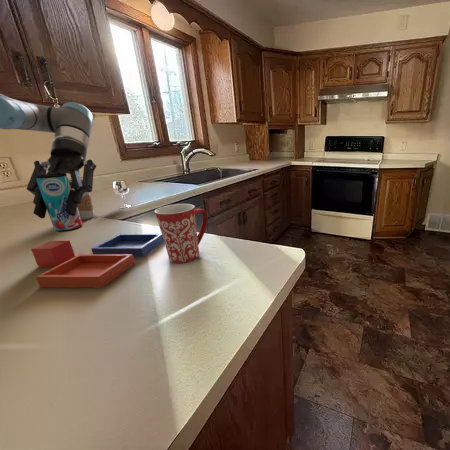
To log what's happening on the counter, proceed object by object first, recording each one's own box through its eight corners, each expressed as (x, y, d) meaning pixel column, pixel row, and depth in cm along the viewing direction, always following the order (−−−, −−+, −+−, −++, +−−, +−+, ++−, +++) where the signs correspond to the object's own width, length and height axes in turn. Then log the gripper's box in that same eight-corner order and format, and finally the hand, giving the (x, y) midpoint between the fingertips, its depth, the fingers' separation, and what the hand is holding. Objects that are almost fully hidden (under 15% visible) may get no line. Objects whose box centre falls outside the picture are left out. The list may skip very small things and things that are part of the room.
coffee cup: (86, 220, 95) (73, 182, 90) (65, 221, 96) (51, 182, 91) (102, 214, 103) (92, 179, 98) (83, 214, 103) (72, 179, 98)
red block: (38, 267, 61) (30, 248, 59) (57, 257, 65) (51, 240, 64) (57, 267, 61) (50, 248, 59) (75, 257, 65) (69, 240, 64)
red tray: (40, 287, 52) (35, 276, 51) (82, 263, 62) (79, 254, 61) (102, 287, 52) (98, 276, 51) (135, 263, 62) (132, 254, 61)
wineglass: (131, 204, 119) (125, 179, 115) (134, 206, 115) (128, 181, 111) (117, 206, 115) (110, 181, 111) (119, 209, 111) (112, 182, 107)
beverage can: (53, 234, 64) (32, 177, 60) (56, 228, 69) (37, 174, 64) (82, 229, 68) (64, 175, 63) (84, 224, 72) (68, 173, 67)
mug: (176, 269, 59) (165, 215, 54) (159, 259, 64) (147, 209, 59) (220, 250, 68) (214, 203, 63) (202, 243, 73) (195, 199, 69)
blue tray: (93, 257, 65) (90, 248, 64) (121, 241, 75) (119, 233, 74) (143, 257, 65) (141, 248, 64) (165, 241, 75) (163, 233, 74)
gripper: (113, 154, 79) (105, 217, 69) (40, 156, 73) (20, 224, 64) (101, 137, 72) (90, 204, 63) (20, 137, 67) (-6, 210, 57)
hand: (55, 214), depth 63 cm, fingers closed on beverage can, 6 cm apart
